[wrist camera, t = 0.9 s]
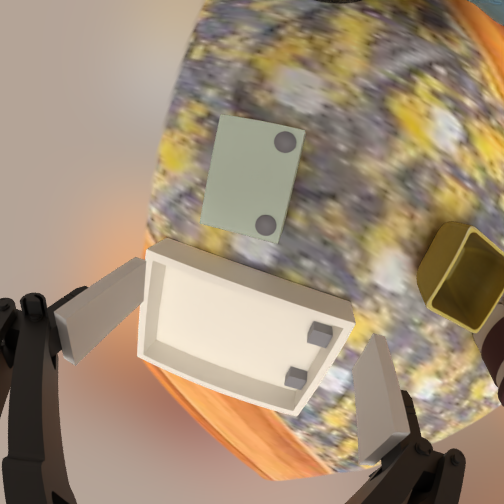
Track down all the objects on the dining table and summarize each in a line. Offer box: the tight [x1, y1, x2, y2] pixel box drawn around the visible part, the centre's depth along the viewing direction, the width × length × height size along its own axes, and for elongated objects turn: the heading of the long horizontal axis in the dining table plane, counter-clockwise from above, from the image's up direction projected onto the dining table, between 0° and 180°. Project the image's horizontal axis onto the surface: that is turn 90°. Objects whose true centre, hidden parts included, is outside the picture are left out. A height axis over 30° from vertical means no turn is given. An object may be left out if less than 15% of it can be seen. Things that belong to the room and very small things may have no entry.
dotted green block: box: [200, 114, 306, 244], centre depth 28 cm, size 11×8×5 cm
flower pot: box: [417, 221, 504, 333], centre depth 24 cm, size 9×9×9 cm
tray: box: [137, 238, 356, 416], centre depth 34 cm, size 17×24×5 cm
